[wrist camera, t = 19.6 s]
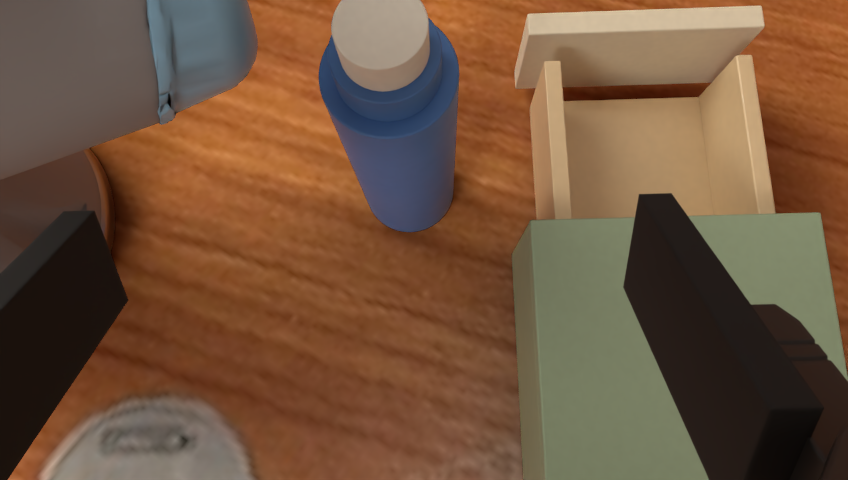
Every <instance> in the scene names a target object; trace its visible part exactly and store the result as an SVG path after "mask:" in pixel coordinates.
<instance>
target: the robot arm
mask: <svg viewBox="0 0 848 480" xmlns="http://www.w3.org/2000/svg"><path fill="white" fill-rule="evenodd" d="M257 47H258V41H257V34H256V30H255V26H254V22H253V18H252V15H251V12H250V8H249V5H248V2H247V0H0V480H7V479H8V478H9V477H10V475H11V474H12V472H13V471H14V469H15V468H16V466H17V465H18V463H19V462H20V460H21V459H22V457H23V456H24V454H25V453H26V451H27V450H28V448H29V447H30V445H31V444H32V442H33V441H34V439H35V438H36V436H37V435H38V433H39V432H40V431H41V429H42V428H43V426H44V425H45V423H46V422H47V420H48V419H49V417H50V416H51V414H52V413H53V411H54V410H55V408H56V407H57V405H58V404H59V402H60V401H61V399H62V398H63V396H64V395H65V393H66V392H67V390H68V389H69V387H70V386H71V384H72V383H73V382H74V380H75V379H76V377H77V376H78V374H79V373H80V371H81V370H82V368H83V367H84V365H85V364H86V362H87V361H88V359H89V358H90V356H91V355H92V353H93V352H94V350H95V349H96V347H97V346H98V344H99V343H100V341H101V340H102V338H103V337H104V335H105V334H106V333H107V331H108V330H109V328H110V327H111V325H112V324H113V322H114V321H115V319H116V318H117V316H118V315H119V313H120V312H121V310H122V309H123V307H124V306H125V304H126V303H127V301H128V298H127V296H126V293H125V290H124V288H123V285H122V282H121V280H120V277H119V274H118V272H117V269H116V266H115V264H114V261H113V258H112V256H111V249H112V245H113V240H114V231H115V208H114V201H113V195H112V191H111V187H110V184H109V181H108V178H107V176H106V174H105V171H104V169H103V167H102V166H101V164H100V162H99V160H98V159H97V157H96V156H95V155H94V153H93V152H92V151H91V150H90V147H93V146H96V145H99V144H101V143H104V142H107V141H110V140H112V139H115V138H118V137H121V136H123V135H126V134H129V133H132V132H135V131H137V130H140V129H143V128H146V127H148V126H151V125H154V124H157V123H159V124H161V125H162V124H165V123H168V121H172V120H173V119H174V118H175V115H176V113H177V112H180V111H182V110H184V109H186V108H189V107H191V106H193V105H195V104H198V103H200V102H202V101H204V100H207V99H209V98H211V97H214V96H216V95H218V94H220V93H223V92H225V91H227V90H230V89H232V88H234V87H235V86H237V85H238V83H240V82H241V81H242V80H243V79H244V78H245V77H246V76H247V74H248V73H249V71H250V69H251V67H252V65H253V64H254V62H255V59H256V54H257ZM623 288H624V290H625V293H626V295H627V297H628V299H629V302H630V304H631V306H632V308H633V311H634V313H635V315H636V317H637V319H638V322H639V324H640V326H641V328H642V331H643V333H644V335H645V337H646V340H647V342H648V344H649V346H650V349H651V351H652V353H653V355H654V358H655V360H656V362H657V364H658V366H659V369H660V371H661V373H662V375H663V378H664V380H665V382H666V384H667V387H668V389H669V391H670V393H671V396H672V398H673V400H674V402H675V405H676V407H677V409H678V411H679V414H680V416H681V418H682V420H683V422H684V425H685V427H686V429H687V431H688V434H689V436H690V438H691V440H692V443H693V445H694V447H695V449H696V452H697V454H698V456H699V458H700V461H701V463H702V465H703V467H704V469H705V472H706V474H707V476H708V478H709V480H848V381H847V380H846V379H845V377H844V376H843V375H842V374H841V372H840V371H839V370H838V368H837V367H836V366H835V365H834V363H833V362H832V361H831V360H828V356H827V355H826V353H825V352H824V351H823V350H822V348H821V347H820V346H819V344H815V339H814V338H813V337H812V336H811V334H810V333H809V332H808V331H807V329H806V328H805V327H804V326H803V324H802V323H801V322H800V321H799V320H798V319H797V318H795V317H794V316H792V315H791V314H789V313H788V312H786V311H785V310H784V309H782V308H781V307H779V306H778V305H776V304H755V305H751V304H750V303H749V301H748V300H747V298H746V297H745V296H744V294H743V293H742V291H741V290H740V289H739V287H738V286H737V284H736V283H735V282H734V280H733V279H732V277H731V276H730V274H729V273H728V272H727V270H726V269H725V267H724V266H723V265H722V263H721V262H720V260H719V259H718V258H717V256H716V255H715V253H714V252H713V251H712V249H711V248H710V246H709V245H708V244H707V242H706V241H705V239H704V238H703V237H702V235H701V234H700V232H699V231H698V230H697V228H696V227H695V225H694V224H693V223H692V221H691V220H690V218H689V217H688V216H687V214H686V213H685V211H684V210H683V209H682V207H681V206H680V204H679V203H678V202H677V200H676V199H675V197H674V196H673V195H672V193H658V194H639V197H638V202H637V208H636V214H635V220H634V226H633V232H632V238H631V244H630V250H629V256H628V262H627V268H626V273H625V279H624V285H623Z"/></svg>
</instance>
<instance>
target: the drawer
mask: <svg viewBox="0 0 848 480" xmlns="http://www.w3.org/2000/svg"><path fill="white" fill-rule="evenodd" d="M764 26H765V24H764V18H763V12H762V6H737V7H708V8H680V9H651V10H623V11H595V12H566V13H538V14H528V15H527V19H526V23H525V28H524V32H523V36H522V41H521V45H520V49H519V54H518V58H517V63H516V67H515V71H514V72H515V88H516V89H528V88H536V89H535V93H534V96H533V99H532V102H531V106H530V123H531V139H532V156H533V172H534V188H535V205H536V220H545V219H583V218H622V217H635V214H636V208H637V202H638V197H639V194H658V193H672V195H673V196H674V197H675V199H676V200H677V202H678V203H679V204H680V206H681V207H682V209H683V210H684V211H685V213H686V214H687V216H698V215H737V214H775V213H776V211H775V205H774V198H773V191H772V185H771V178H770V171H769V165H768V158H767V151H766V145H765V138H764V131H763V125H762V118H761V111H760V105H759V98H758V91H757V85H756V78H755V72H754V65H753V58H752V55H739V54H740V53H741V52H742V51H743V50H744V49H745V48H746V47H747V46H748V45H749V43H750V42H751V41H752V40H753V39H754V38H755V37H756V36H757V35H758V34H759V33H760V31H761V30H762V29H763V28H764ZM685 83H711V84H710V85H709V86H708V87H707V88H706V89H705V90H704V91H703V93H702V94H701V95H700V96H699V97H682V98H650V99H618V100H586V101H563V88H562V87H591V86H622V85H653V84H685Z"/></svg>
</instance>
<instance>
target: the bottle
mask: <svg viewBox="0 0 848 480" xmlns="http://www.w3.org/2000/svg"><path fill="white" fill-rule="evenodd" d="M331 31H332V35H331V38H330V41H329V44H328V46H327V48H326V50H325V52H324V54H323V56H322V60H321V63H320V69H319V86H320V91H321V94H322V98H323V100H324V102H325V105H326V107H327V109H328V112H329V114H330V116H331V119H332V121H333V123H334V125H335V128H336V130H337V132H338V135H339V137H340V139H341V142H342V144H343V146H344V148H345V151H346V153H347V155H348V158H349V160H350V162H351V165H352V167H353V169H354V171H355V174H356V176H357V178H358V181H359V183H360V185H361V187H362V190H363V192H364V194H365V197H366V199H367V201H368V204H369V206H370V208H371V210H372V212H373V213H374V215H375V216H376V217H377V218H378V219H379V220H380V221H381V222H382V223H383V224H385V225H386V226H388V227H390V228H392V229H395V230H398V231H402V232H416V231H421V230H424V229H427V228H429V227H431V226H433V225H434V224H436V223H437V222H438V221H440V220H441V219H442V217H443V216H444V215H445V214H446V212H447V211H448V209H449V207H450V205H451V202H452V198H453V188H454V168H455V148H456V128H457V108H458V88H459V65H458V60H457V56H456V53H455V50H454V48H453V46H452V45H451V43H450V41H449V40H448V38H447V37H446V36H445V34H444V33H443V32H442V31H441V30H440V29H439V28H438V27H436V26H435V25H434V24H433V22H432V21H431V20H430V19H429V18H428V15H427V12H426V9H425V7H424V5H423V3H422V2H421V1H420V0H342V1H341V2H340V3H339V5H338V6H337V8H336V10H335V13H334V15H333V19H332V25H331Z"/></svg>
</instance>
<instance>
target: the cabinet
mask: <svg viewBox="0 0 848 480" xmlns="http://www.w3.org/2000/svg"><path fill="white" fill-rule="evenodd" d="M688 217H689V218H690V220H691V221H692V223H693V224H694V225H695V227H696V228H697V230H698V231H699V232H700V234H701V235H702V237H703V238H704V239H705V241H706V242H707V244H708V245H709V246H710V248H711V249H712V251H713V252H714V253H715V255H716V256H717V258H718V259H719V260H720V262H721V263H722V265H723V266H724V267H725V269H726V270H727V272H728V273H729V274H730V276H731V277H732V279H733V280H734V282H735V283H736V284H737V286H738V287H739V289H740V290H741V291H742V293H743V294H744V296H745V297H746V298H747V300H748V301H749V303H750V304H751V305H755V304H776V305H778V306H779V307H781V308H782V309H784V310H785V311H786V312H788V313H789V314H791V315H792V316H794V317H795V318H797V319H798V320H799V321H800V322H801V323H802V324H803V326H804V327H805V328H806V329H807V331H808V332H809V333H810V334H811V336H812V337H813V338H814V339H815V344H819V346H820V347H821V348H822V350H823V351H824V352H825V353H826V355H827V356H828V360H831V361H832V362H833V363H834V365H835V366H836V367H837V368H838V370H839V371H840V372H841V374H842V375H843V376H844V377H845V379H846V380H847V381H848V374H847V368H846V362H845V356H844V350H843V344H842V338H841V332H840V326H839V320H838V314H837V308H836V302H835V296H834V290H833V284H832V278H831V272H830V266H829V260H828V254H827V248H826V242H825V236H824V230H823V224H822V218H821V214H820V213H818V212H813V213H775V214H737V215H698V216H688ZM634 220H635V217H622V218H583V219H545V220H530V222H529V224H528V226H527V227H526V229H525V231H524V233H523V235H522V236H521V238H520V240H519V242H518V244H517V246H516V247H515V249H514V251H513V253H512V271H513V291H514V310H515V330H516V349H517V369H518V388H519V408H520V427H521V447H522V467H523V480H709V478H708V476H707V474H706V472H705V469H704V467H703V465H702V463H701V461H700V458H699V456H698V454H697V452H696V449H695V447H694V445H693V443H692V440H691V438H690V436H689V434H688V431H687V429H686V427H685V425H684V422H683V420H682V418H681V416H680V414H679V411H678V409H677V407H676V405H675V402H674V400H673V398H672V396H671V393H670V391H669V389H668V387H667V384H666V382H665V380H664V378H663V375H662V373H661V371H660V369H659V366H658V364H657V362H656V360H655V358H654V355H653V353H652V351H651V349H650V346H649V344H648V342H647V340H646V337H645V335H644V333H643V331H642V328H641V326H640V324H639V322H638V319H637V317H636V315H635V313H634V311H633V308H632V306H631V304H630V302H629V299H628V297H627V295H626V293H625V290H624V288H623V285H624V279H625V273H626V268H627V262H628V256H629V250H630V244H631V238H632V232H633V226H634Z"/></svg>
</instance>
